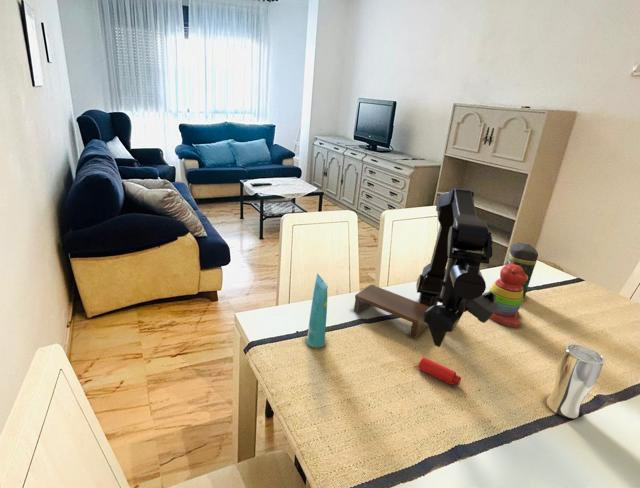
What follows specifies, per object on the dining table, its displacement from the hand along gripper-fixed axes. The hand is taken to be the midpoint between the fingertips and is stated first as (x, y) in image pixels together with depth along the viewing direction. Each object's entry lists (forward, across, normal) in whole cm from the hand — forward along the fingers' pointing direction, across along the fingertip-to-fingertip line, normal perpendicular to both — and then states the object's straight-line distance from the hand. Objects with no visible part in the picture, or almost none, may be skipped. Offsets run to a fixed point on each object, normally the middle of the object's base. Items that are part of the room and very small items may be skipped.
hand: (444, 337), depth 90 cm
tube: (+11, -10, +29) cm, 33 cm away
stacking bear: (+11, +43, -5) cm, 45 cm away
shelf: (+11, +16, +20) cm, 28 cm away
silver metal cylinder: (+11, +10, -25) cm, 29 cm away
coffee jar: (+11, +62, -4) cm, 63 cm away
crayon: (+11, 0, 0) cm, 11 cm away
